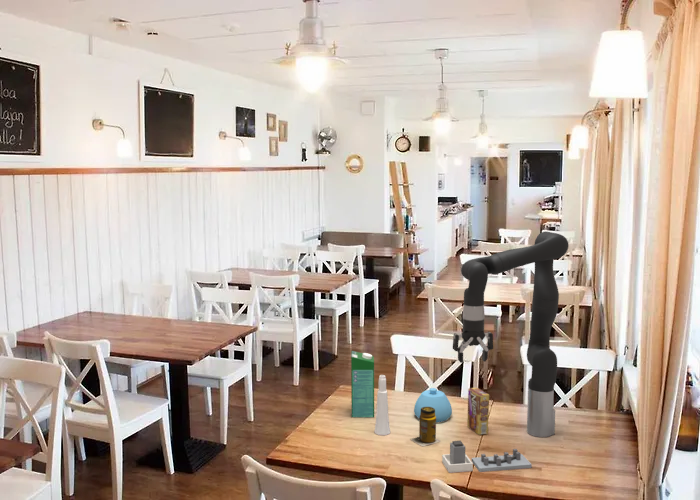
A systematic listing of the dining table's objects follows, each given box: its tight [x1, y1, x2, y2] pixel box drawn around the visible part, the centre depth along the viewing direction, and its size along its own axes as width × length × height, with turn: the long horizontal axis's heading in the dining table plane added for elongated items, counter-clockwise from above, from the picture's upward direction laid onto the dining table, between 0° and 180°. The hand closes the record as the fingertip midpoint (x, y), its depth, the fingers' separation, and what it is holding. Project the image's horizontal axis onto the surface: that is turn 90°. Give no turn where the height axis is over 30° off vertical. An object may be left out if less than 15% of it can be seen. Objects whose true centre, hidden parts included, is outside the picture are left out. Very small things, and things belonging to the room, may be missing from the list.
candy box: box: [466, 387, 490, 436], centre depth 252 cm, size 9×4×15 cm, turn 20°
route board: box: [471, 448, 532, 473], centre depth 224 cm, size 18×8×4 cm, turn 99°
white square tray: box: [441, 453, 474, 474], centre depth 223 cm, size 8×8×3 cm
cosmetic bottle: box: [374, 374, 391, 436], centre depth 251 cm, size 6×6×22 cm
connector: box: [449, 440, 466, 464], centre depth 223 cm, size 4×4×8 cm
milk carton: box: [350, 350, 375, 418], centre depth 269 cm, size 9×9×25 cm
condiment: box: [410, 407, 441, 447], centre depth 243 cm, size 7×8×12 cm
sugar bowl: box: [413, 387, 453, 424], centre depth 266 cm, size 15×15×12 cm
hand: (472, 361), depth 239 cm, fingers open, 8 cm apart
